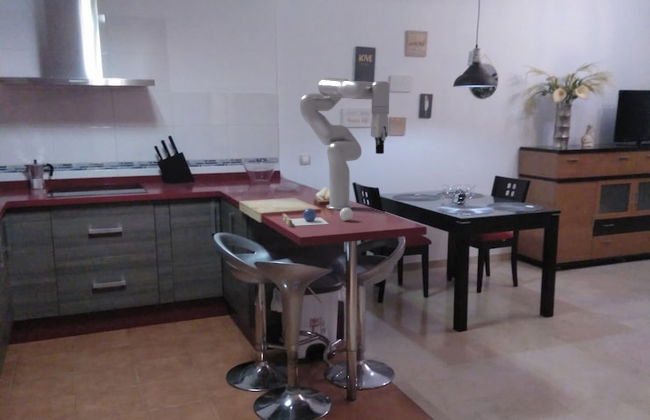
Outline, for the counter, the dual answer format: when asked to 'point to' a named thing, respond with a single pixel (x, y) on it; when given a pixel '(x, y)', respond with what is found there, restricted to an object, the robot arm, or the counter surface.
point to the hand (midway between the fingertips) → (379, 153)
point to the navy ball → (309, 214)
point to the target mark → (303, 222)
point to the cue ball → (346, 214)
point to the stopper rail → (287, 220)
